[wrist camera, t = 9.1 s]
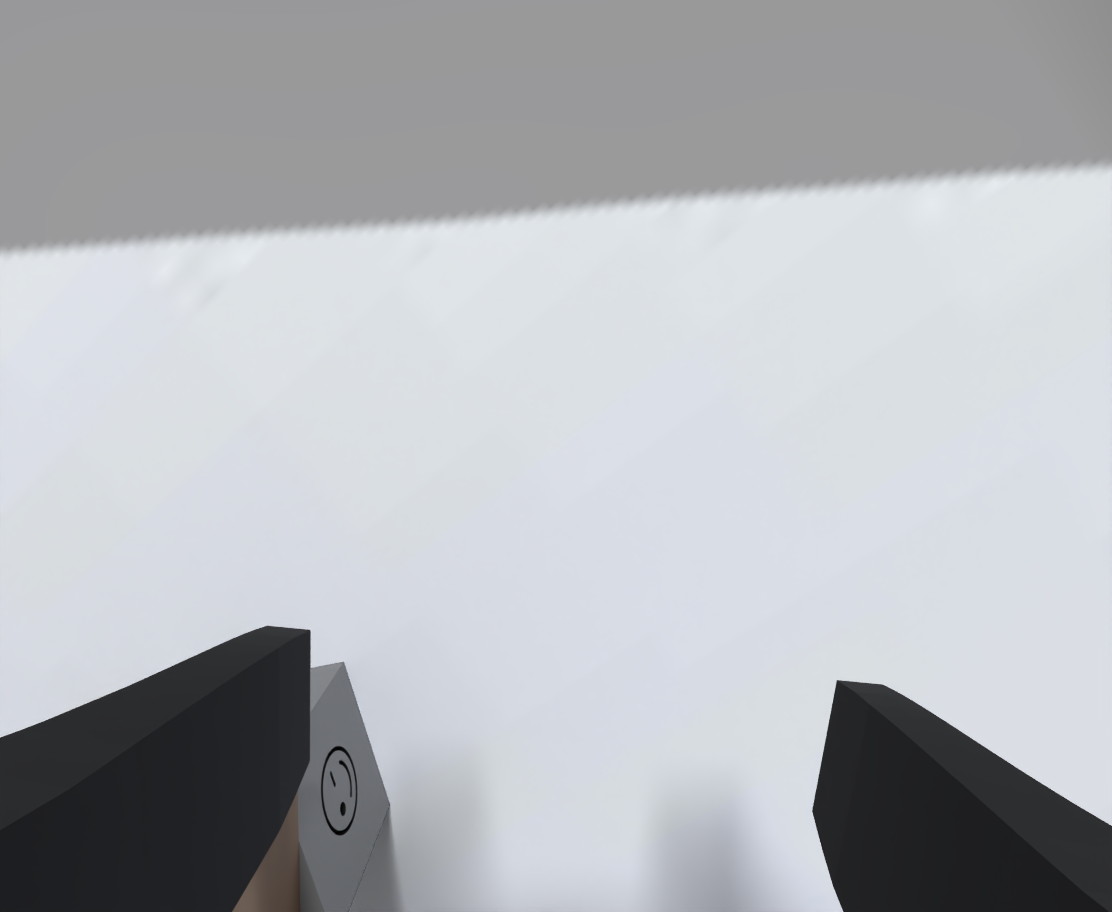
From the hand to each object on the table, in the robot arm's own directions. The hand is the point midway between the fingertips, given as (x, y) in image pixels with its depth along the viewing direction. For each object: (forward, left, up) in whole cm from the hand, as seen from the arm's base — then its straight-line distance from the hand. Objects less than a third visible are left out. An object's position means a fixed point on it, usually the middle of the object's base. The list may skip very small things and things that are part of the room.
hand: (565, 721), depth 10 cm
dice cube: (+8, +9, -11) cm, 16 cm away
